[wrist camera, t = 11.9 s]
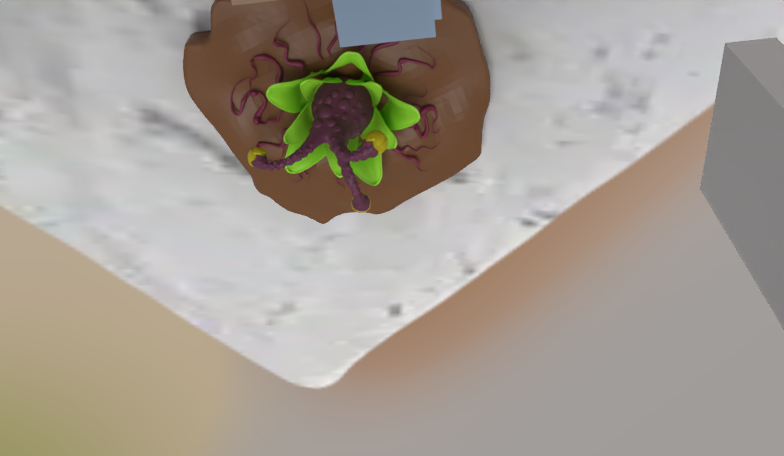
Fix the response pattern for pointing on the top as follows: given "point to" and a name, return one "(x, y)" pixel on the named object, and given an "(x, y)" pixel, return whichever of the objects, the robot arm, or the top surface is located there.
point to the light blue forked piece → (385, 20)
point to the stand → (248, 1)
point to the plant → (339, 104)
